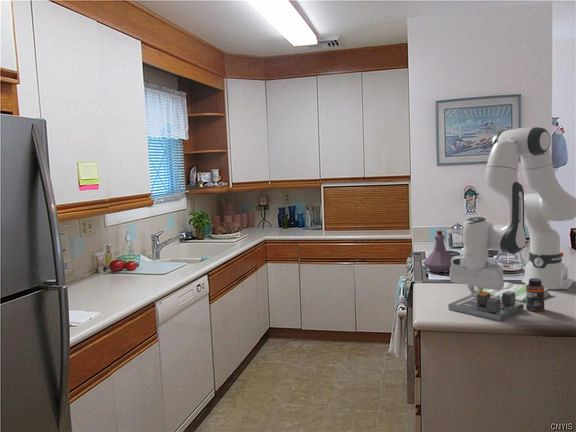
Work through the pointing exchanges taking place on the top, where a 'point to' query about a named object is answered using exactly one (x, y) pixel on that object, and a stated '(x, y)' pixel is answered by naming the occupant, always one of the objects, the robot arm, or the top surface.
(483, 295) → the breaker mid
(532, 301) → the supplement bottle
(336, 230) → the top surface
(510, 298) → the block
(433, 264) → the flask
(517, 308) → the panel
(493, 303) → the block
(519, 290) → the dish towel
